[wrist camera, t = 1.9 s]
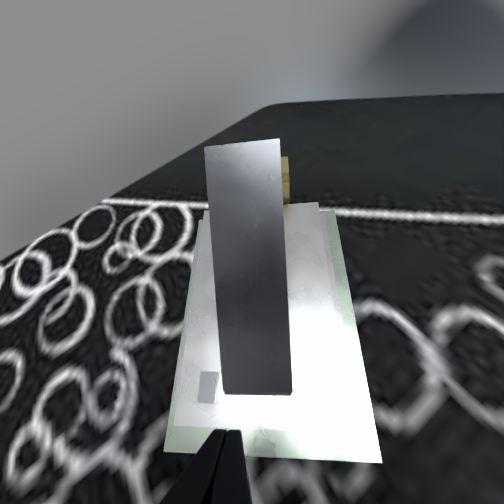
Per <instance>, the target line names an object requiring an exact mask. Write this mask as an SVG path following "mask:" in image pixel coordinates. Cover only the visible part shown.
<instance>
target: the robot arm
mask: <svg viewBox="0 0 504 504" xmlns="http://www.w3.org/2000/svg"><path fill="white" fill-rule="evenodd" d="M159 504H252V497H251V491H250V484H249V478H248V471H247V465H246V458H245V452H244V445H243V439H242V432H241V430H234V429H230V430H228V431H227V430H226V429H214V430H213V431H212V432H211V433H210V435H209V436H208V438H207V439H206V440H205V442H204V443H203V444H202V446H201V447H200V449H199V450H198V451H197V453H196V454H195V455H194V457H193V458H192V460H191V461H190V462H189V464H188V465H187V466H186V468H185V469H184V471H183V472H182V473H181V475H180V476H179V477H178V479H177V480H176V482H175V483H174V484H173V486H172V487H171V488H170V490H169V491H168V492H167V494H166V495H165V497H164V498H163V499H162V501H161V502H160V503H159Z"/></svg>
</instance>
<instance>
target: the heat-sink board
mask: <svg viewBox="0 0 504 504" xmlns="http://www.w3.org/2000/svg"><path fill="white" fill-rule="evenodd" d="M281 176H282V194H283V213H284V232H285V251H286V270H287V288H288V307H289V326H290V345H291V363H292V382H293V393H291V396H262V395H225V392H223V388H222V375H221V362H220V349H219V336H218V323H217V310H216V297H215V283H214V270H213V257H212V244H211V231H210V218H209V211H204V218H203V220H199V226H198V232H197V239H196V245H195V252H194V258H193V265H192V271H191V278H190V284H189V291H188V297H187V304H186V310H185V316H184V323H183V329H182V336H181V342H180V349H179V355H178V362H177V368H176V375H175V381H174V387H173V394H172V400H171V407H170V413H169V420H168V426H167V433H166V439H165V446H164V452H178V453H197V451H198V450H199V449H200V447H201V446H202V444H203V443H204V442H205V440H206V439H207V438H208V436H209V435H210V433H211V432H212V431H213V430H214V429H226V430H227V431H228V430H230V429H234V430H241V432H242V439H243V445H244V452H245V456H256V457H276V458H296V459H315V460H335V461H355V462H374V463H382V459H381V454H380V448H379V443H378V438H377V432H376V427H375V422H374V417H373V411H372V406H371V401H370V395H369V390H368V385H367V380H366V374H365V369H364V364H363V358H362V353H361V348H360V343H359V337H358V332H357V327H356V321H355V316H354V311H353V306H352V300H351V295H350V290H349V284H348V279H347V274H346V269H345V263H344V258H343V253H342V247H341V242H340V237H339V232H338V226H337V221H336V216H335V210H332V211H319V206H318V202H314V203H301V204H289V169H288V157H281Z"/></svg>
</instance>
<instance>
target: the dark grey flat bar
mask: <svg viewBox="0 0 504 504" xmlns="http://www.w3.org/2000/svg"><path fill="white" fill-rule="evenodd" d="M204 152H205V165H206V178H207V192H208V205H209V218H210V231H211V244H212V257H213V270H214V283H215V297H216V310H217V323H218V336H219V349H220V362H221V375H222V388H223V392H225V395H262V396H291V393H293V382H292V363H291V345H290V326H289V307H288V288H287V270H286V251H285V232H284V213H283V194H282V176H281V157H280V139H272V140H262V141H253V142H244V143H235V144H226V145H217V146H208V147H204Z"/></svg>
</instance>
